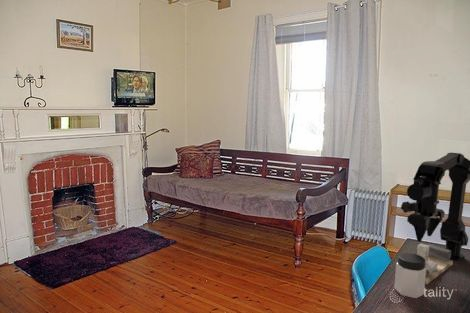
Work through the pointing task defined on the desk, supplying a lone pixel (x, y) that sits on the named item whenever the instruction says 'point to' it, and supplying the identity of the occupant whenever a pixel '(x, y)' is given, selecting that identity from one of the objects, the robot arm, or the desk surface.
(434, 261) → the base
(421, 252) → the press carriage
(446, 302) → the desk surface
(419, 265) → the jar
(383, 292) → the desk surface
